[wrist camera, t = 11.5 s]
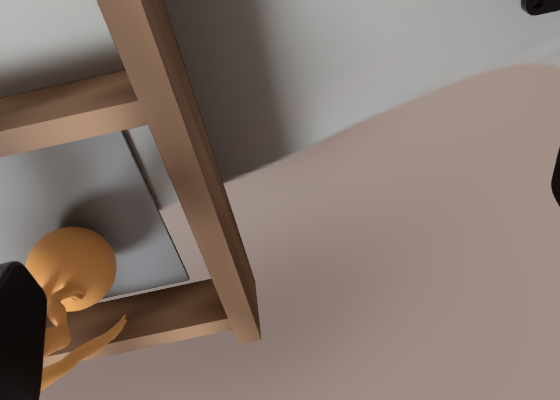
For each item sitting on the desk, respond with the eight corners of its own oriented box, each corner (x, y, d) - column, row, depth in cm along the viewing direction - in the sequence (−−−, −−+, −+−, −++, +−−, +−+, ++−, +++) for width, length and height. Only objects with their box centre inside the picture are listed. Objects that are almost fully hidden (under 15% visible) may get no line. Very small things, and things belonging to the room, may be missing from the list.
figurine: (29, 285, 26) (-67, 549, 17) (-50, 206, 22) (-230, 490, 13) (173, 242, 25) (155, 493, 16) (117, 152, 22) (51, 413, 12)
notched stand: (8, -476, 11) (-68, -584, 8) (255, 281, 28) (261, 339, 25) (-528, -342, 11) (-800, -396, 8) (40, 327, 29) (20, 390, 26)
